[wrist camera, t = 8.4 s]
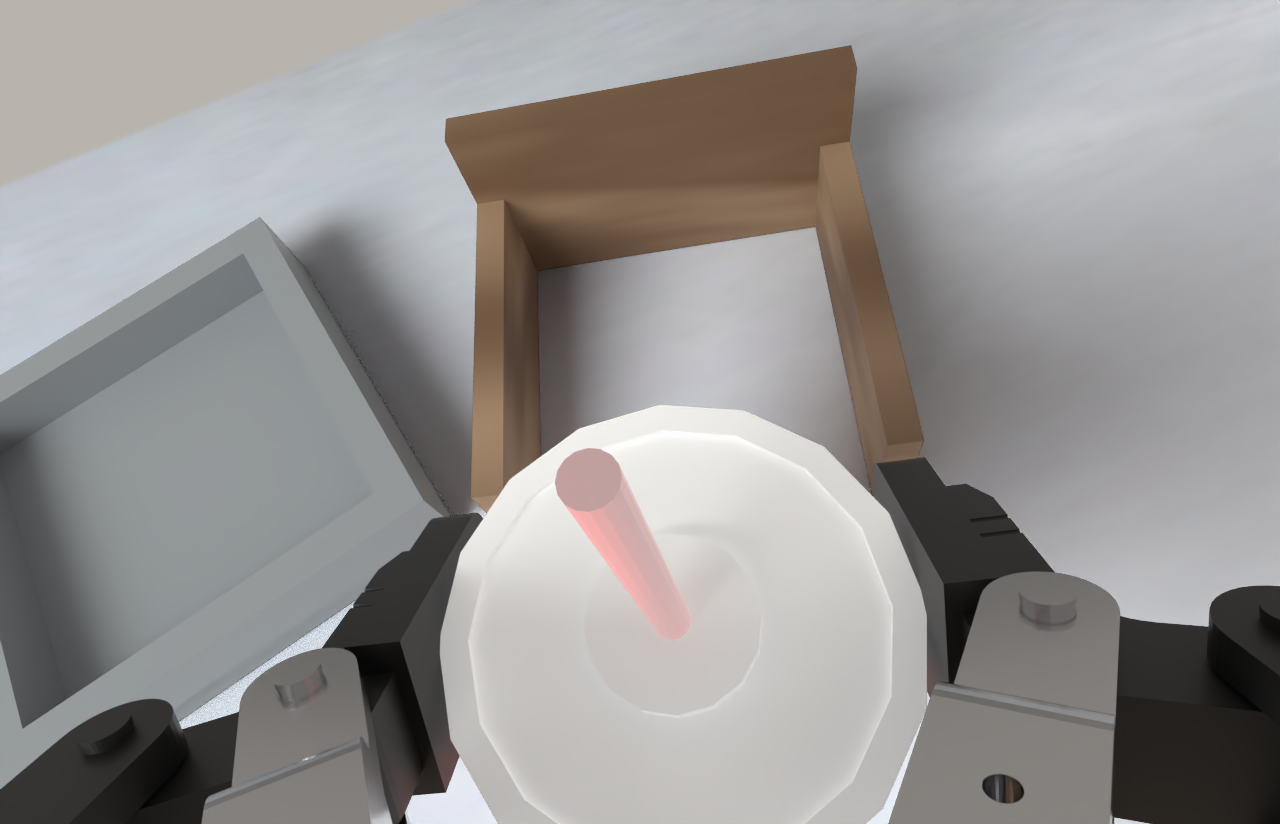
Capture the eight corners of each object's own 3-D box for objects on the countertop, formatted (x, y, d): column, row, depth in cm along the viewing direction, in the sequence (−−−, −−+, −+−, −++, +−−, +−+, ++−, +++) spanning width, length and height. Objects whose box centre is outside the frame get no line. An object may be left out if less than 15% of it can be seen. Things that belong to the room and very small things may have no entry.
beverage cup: (919, 690, 17) (1264, 410, 5) (740, 932, 16) (606, 1376, 4) (704, 518, 20) (579, 44, 7) (532, 716, 18) (25, 536, 6)
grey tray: (-15, 459, 27) (-88, 428, 24) (301, 263, 28) (260, 217, 26) (75, 792, 21) (-7, 792, 19) (458, 528, 23) (423, 500, 21)
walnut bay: (513, 254, 27) (445, 118, 21) (836, 202, 26) (851, 45, 20) (514, 539, 22) (429, 458, 17) (903, 492, 21) (944, 390, 16)
